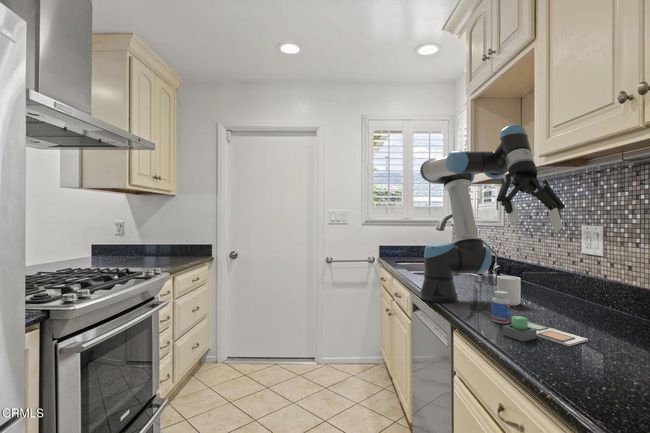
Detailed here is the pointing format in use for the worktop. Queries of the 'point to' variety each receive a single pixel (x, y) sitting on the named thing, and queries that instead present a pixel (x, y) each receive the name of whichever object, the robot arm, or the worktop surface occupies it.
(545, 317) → the worktop surface
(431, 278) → the robot arm
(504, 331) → the button frame
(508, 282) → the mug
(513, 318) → the button
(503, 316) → the pill bottle
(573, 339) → the white rectangular board
